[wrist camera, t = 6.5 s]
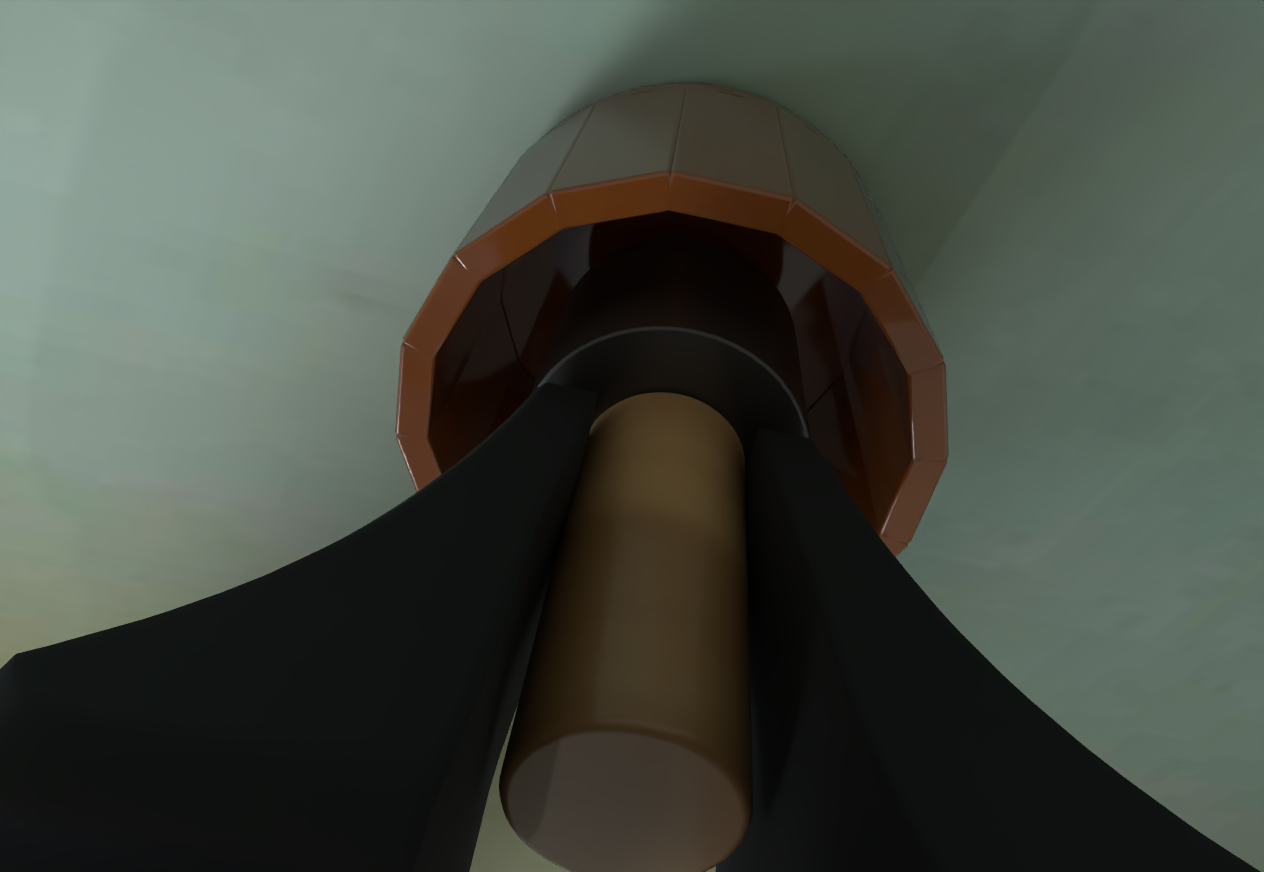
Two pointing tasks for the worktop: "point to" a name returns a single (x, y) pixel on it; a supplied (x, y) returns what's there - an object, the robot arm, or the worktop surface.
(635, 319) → the brush
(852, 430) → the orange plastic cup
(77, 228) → the worktop surface
